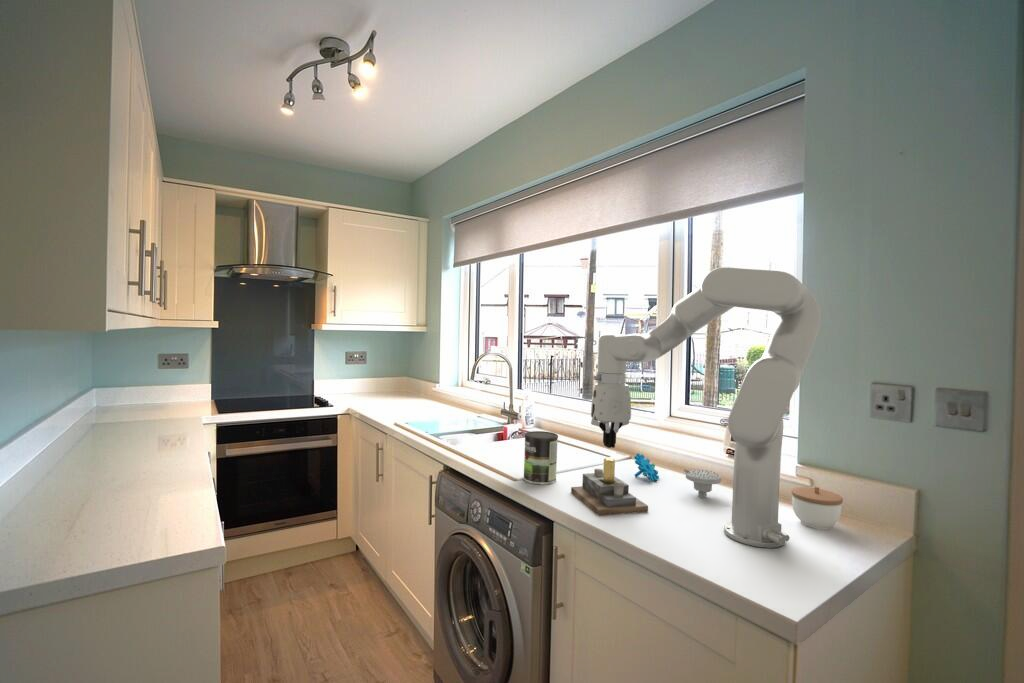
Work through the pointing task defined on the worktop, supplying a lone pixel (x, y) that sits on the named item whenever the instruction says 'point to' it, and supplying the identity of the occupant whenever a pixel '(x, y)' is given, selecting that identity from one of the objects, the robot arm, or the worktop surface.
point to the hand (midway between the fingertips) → (609, 446)
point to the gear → (646, 467)
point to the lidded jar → (816, 506)
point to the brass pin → (609, 471)
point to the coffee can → (540, 457)
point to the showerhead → (703, 480)
